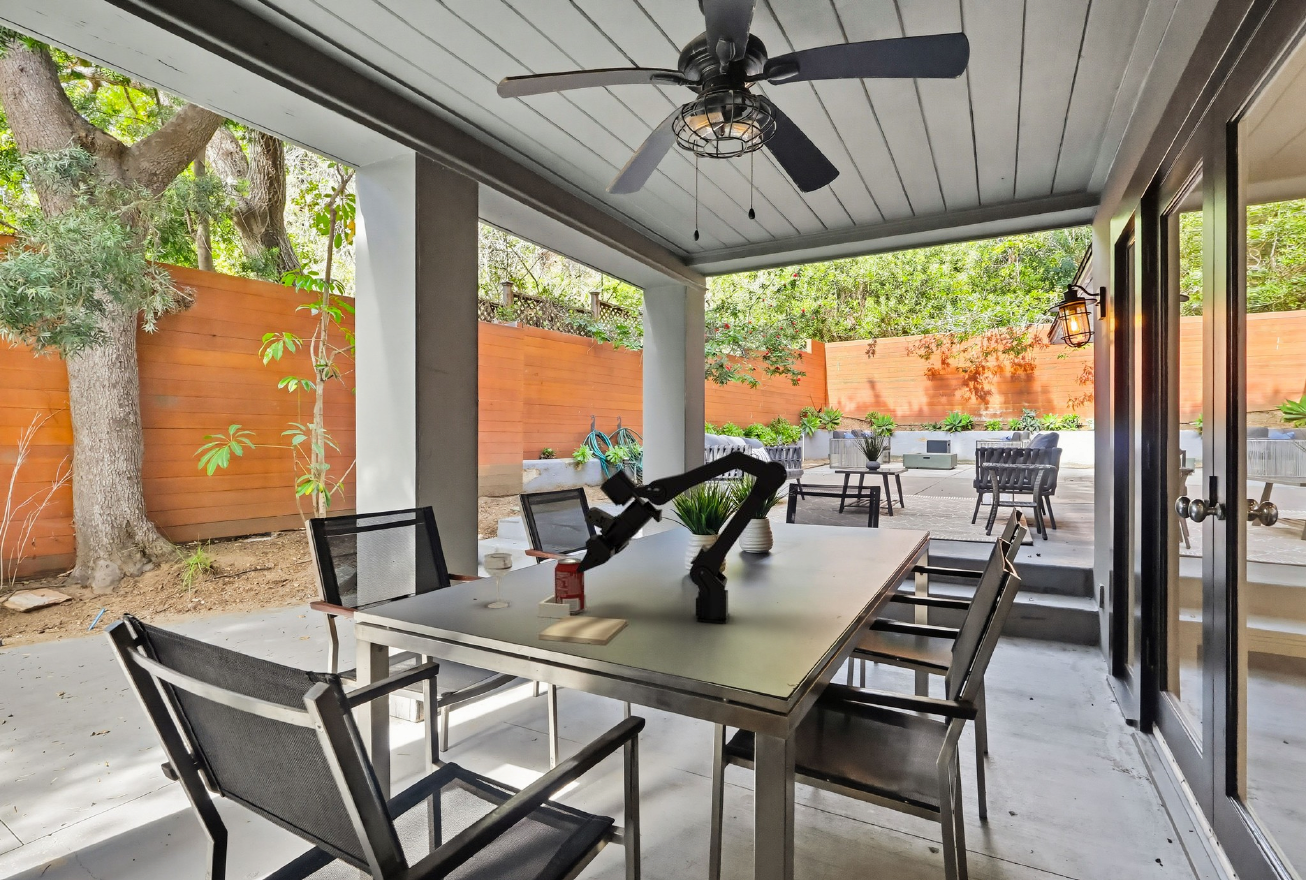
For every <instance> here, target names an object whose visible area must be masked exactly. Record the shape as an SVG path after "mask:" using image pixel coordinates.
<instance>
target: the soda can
mask: <svg viewBox="0 0 1306 880" xmlns="http://www.w3.org/2000/svg"><path fill="white" fill-rule="evenodd" d="M581 561H582V559H581V558H578V557H577V558H576V557H567V558H566V557H565V558H559V559H557V560H556V562H557V564H556V566H555V567H554V594H555V604H569V605H570V616H576V615H578V614H580V613H581V612H583V611H584V610H585V608H584V594H585V571H584V572H582V573H578V572H577V571H576V569H577V568H578V566H579V564H580V563H581Z"/></svg>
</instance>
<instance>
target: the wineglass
mask: <svg viewBox="0 0 1306 880" xmlns="http://www.w3.org/2000/svg"><path fill="white" fill-rule="evenodd" d="M512 556H513V554H512V553H506V552H505V553H504V552H496V553H495V552H494V553H489V554H488V553H487V554H484V555H483V559H484V560H483V570H484V571H485V573H487V574H488V576H490V577H493V578H494V579H495V580H496V581H495V582H496V598H497V599H496V602H493V603H490V604H488V605H487V607H488V608H490V609H501V608H507V607H508V606H509V605H508V603H506V602H501V601H500V583H501V582H500V581H501V579H502V577H504V576H507V574H508V573H509V572H510V571H511V570H512V567H513V560H512V559H511V558H512Z"/></svg>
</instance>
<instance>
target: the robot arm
mask: <svg viewBox="0 0 1306 880" xmlns="http://www.w3.org/2000/svg"><path fill="white" fill-rule="evenodd" d="M734 470H739V471H742V472H744V473H746V474H748V475H750V476H753V477H755V480H754V483H753V485H752V488H751V489H750V492H749V493H748V494H747V496H746V497H745V498H744V500H743V501H742V503H741V504H740V506H739V508H737V510H736V511H735V513H734V514H733V515H732V517H731V519H729V521H728V522H727V524H726V525H725V527H724V528H723V530H722V531H721V532H720V534H719V535H718V537H717V538H716V540H715V541H714V542H713V543H712V544H710V546H709V547H708V546H707V545H706V544H702V546H701V547H700V550H699V551H698V553H697V555H695V556H694V557H693V558H692V559H691V561H690V565H691V567H690V569H689V575H690V576H689V578H690V579H691V581H692V583H694V585H696V586H697V588H698V591H697V596H696V597H695V617H696V618H695V619H696V622H701V623H703V622H704V623H715V624H717V623H718V624H726V623H727V622H728V620H729V618H730V616H731V613H729V589H726V586H727V582H728V577H727V576H726V575H725V574H723V572H722V571H721V570H720V569H721V567H722V565H723V564H724V561H725V558H726V557H727V554H728V553H729V552H730V551H731V549H732V547H733V546H734V545H735V543H736V541H737V540H738V539H739V537H740V536H741V535H742V533H743V532H744V531H745V529H746V528H747V526H748V525H749V523H750V522H751V521H752V519H753V518H754V517H755V515H756V514H757V513H758V511H759V510H760V508H761V507H762V505H763V504H764V503H765V502H766V501H767V500H768V499H769V498H771V497H772V496H773V495H774V494H775V493H777V491H778V490H779V489H780V488H781V487H782V486H783V485H784V484H785V483H786V481H787V478H788V472H787V469H786V467H785V465H783V463H781V462H780V461H777V460H770V461H765V460H762V459H759V458H757V457H755V456H751V455H749V454H746V453H744V452H743V451H741V450H737V449H736V450H733V451H731V452H730V453H728V454H726V455H724V456H723V455H722V456H721V457H720V458H717V459H714V460H712V461H710V462H707V463H705V464H703V465H700V466H698V467H696V468H693V469H690V470H688V471H686V472H682V473H679V474H674V475H670V476H665V477H661V478H657V479H655V480H651V482H649V483H648V484H643V483H642V484H639V485H637V484H636V483H635V481H633V479H632V478H630V476H629V475H628V473H627V472H626V471H625V469H619V470H618V471H617V472H616V473H614V474H613V475H612V476H611V477H609V478H607V479H606V480H605V481H604V482H603V483H602V484H601V486H600V487H599V489H600V491H602V493H603V494H604V495H605V496H606V497H607V498H608V499H609V500H610V501H611V502H612V504H613V505H615V507H618V506H622V507H625V506H626V505H627V504H628V503H630V504H628V506H627V507H625V508H624V510H622V512H620V513H619V514H617V515H612V514H610V513H608V512H607V511H605V510H603V509H601V508H600V507H597V506H592V507H590V508H588V511H587V512H586V513H585V517H584V522H585V523H586V524H591V525H592V526H594V527H597V528H598V529H600V530H599V532H600V533H598V534H597V533H595V534H593V535H591V536H590V537H589V538H588V539H587V540H585V548H586V553H585V555H584V556H583V558H582V559H581V563H580V564H579V566H578V568H577V569H576V571H577V572H578V573H582V572H584V573H585V572H587V571H590V570H591V569H593V568H596V567H599V566H602V565H604V564H606V563H607V562H609V561H610V559H612V558H613V557H614V556H615V555H618V554H620V553H621V552H622V551H624V550H625V549H626V548H627V547H628V545H629V544H630V540H631V539H632V538H633V537H635V536H636V535H637V534H638V533H639V532H640V530H641V529H643V527H645V526H646V524H647V523H649V521H651V520H652V519H654V521H655V522H656V523H660V522H661V521H662V520H663V515H662V514H663V509H662V508H660V509H659V508H657V507H656V506H664V505H666V504H667V503H669V502H670V501H672V500H673V499H675V498H677V497H678V496H680V495H682V494H683V493H685V492H686V491H687V490H689V489H691V488H693V487H696V486H698V485H701V484H702V483H705V482H707V481H710V480H713V479H716V478H717V477H719V476H720V477H721V476H722V475H724V474H727V473H729V472H731V471H734ZM632 499H634V500H633V501H632ZM644 499H647V501H645V500H644ZM631 501H632V502H631ZM654 505H655V506H654Z"/></svg>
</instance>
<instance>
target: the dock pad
mask: <svg viewBox="0 0 1306 880" xmlns="http://www.w3.org/2000/svg"><path fill="white" fill-rule="evenodd" d="M627 624H628V619H621V618H619V619H617V618H608V617H607V618H604V617H594V616H593V617H591V616H582V615H581V616H580V615H579V616H578V615H567V616H565V617H564V618H560V619H559V620H558V621H557V622H555V623H553V624H552V625H550V626H549V627H548V628H545V630H543V631H542V632H540V633H539V634H538V639H539V640H545V641H555V642H556V641H557V642H566V643H578V644H588V643H591V644H590V645H599V646H600V645H601V646H606V645H608V643H610V641H611V640H612V639H614V638H615V637H616V636H617V635H618V634H619V633H620V632H622V630H624V629H625V628H626V627H627V626H628V625H629V624H628V625H627ZM626 625H627V626H626ZM625 626H626V627H625ZM624 627H625V628H624ZM616 634H617V635H616ZM614 636H615V637H614Z"/></svg>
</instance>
